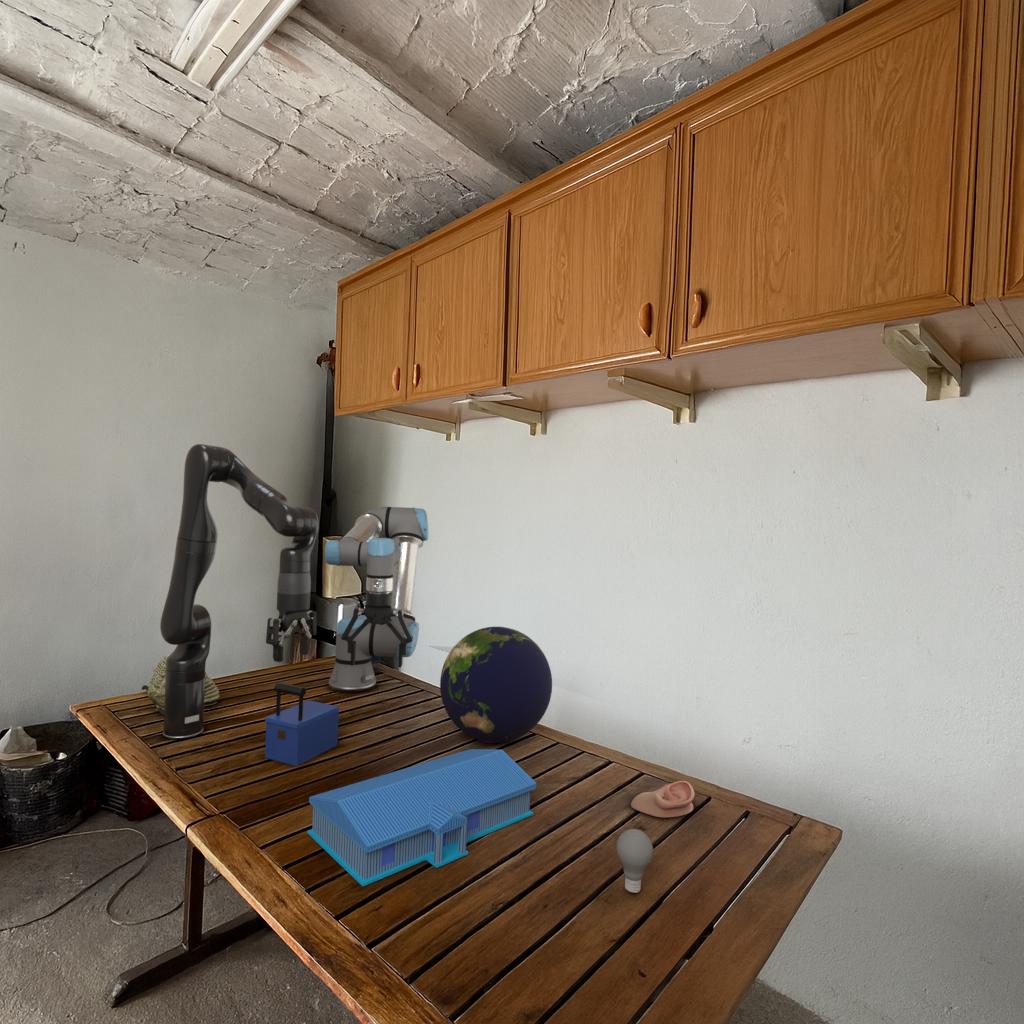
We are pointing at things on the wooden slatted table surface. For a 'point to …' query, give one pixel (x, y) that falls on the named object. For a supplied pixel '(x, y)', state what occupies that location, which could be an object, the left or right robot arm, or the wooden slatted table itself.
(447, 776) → the model building
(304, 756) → the chest
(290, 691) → the lid
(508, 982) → the wooden slatted table surface
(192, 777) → the wooden slatted table surface
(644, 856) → the light bulb
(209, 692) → the fossil
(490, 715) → the globe
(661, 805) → the anatomical model
